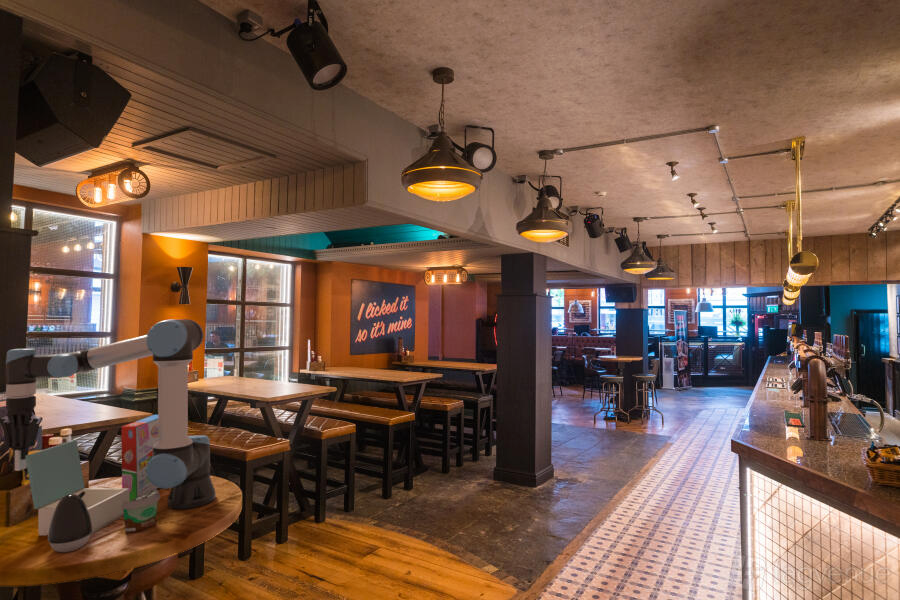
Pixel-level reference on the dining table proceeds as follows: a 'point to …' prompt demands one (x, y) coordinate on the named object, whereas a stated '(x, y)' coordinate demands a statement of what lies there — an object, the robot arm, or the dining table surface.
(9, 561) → the dining table surface
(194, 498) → the robot arm
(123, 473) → the game box
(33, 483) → the box lid
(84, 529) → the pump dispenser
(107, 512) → the cream box
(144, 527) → the food container
